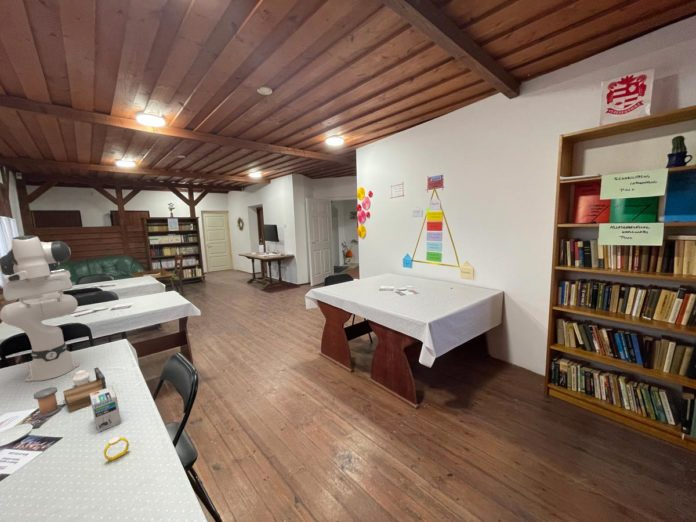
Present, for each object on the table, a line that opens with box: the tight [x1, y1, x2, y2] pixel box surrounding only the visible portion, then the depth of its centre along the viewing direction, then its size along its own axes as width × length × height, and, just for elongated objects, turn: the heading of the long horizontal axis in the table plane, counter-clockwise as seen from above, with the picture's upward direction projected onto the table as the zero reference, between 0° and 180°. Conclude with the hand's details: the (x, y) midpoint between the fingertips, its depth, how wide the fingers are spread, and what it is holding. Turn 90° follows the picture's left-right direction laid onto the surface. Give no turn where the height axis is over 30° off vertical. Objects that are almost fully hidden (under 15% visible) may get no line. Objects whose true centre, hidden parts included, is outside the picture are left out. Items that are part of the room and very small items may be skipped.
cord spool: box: [32, 386, 62, 419], centre depth 112 cm, size 6×6×9 cm
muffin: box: [71, 369, 91, 387], centre depth 132 cm, size 6×6×7 cm
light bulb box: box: [90, 385, 122, 433], centre depth 105 cm, size 11×7×11 cm, turn 47°
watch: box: [103, 436, 130, 461], centre depth 89 cm, size 6×3×6 cm, turn 138°
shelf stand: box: [62, 366, 107, 413], centre depth 120 cm, size 14×12×10 cm
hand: (44, 304), depth 123 cm, fingers open, 8 cm apart
